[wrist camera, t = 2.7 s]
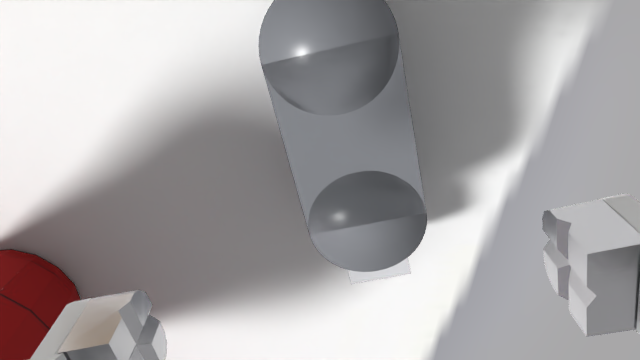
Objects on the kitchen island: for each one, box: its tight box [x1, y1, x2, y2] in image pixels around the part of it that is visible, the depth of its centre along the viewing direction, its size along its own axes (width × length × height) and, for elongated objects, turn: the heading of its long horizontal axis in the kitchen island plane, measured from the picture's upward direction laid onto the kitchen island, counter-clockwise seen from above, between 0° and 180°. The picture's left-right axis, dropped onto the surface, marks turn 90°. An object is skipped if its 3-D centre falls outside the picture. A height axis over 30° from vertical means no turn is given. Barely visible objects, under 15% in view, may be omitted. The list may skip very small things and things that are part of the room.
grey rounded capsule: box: [259, 0, 427, 284], centre depth 18 cm, size 4×12×4 cm, turn 13°
